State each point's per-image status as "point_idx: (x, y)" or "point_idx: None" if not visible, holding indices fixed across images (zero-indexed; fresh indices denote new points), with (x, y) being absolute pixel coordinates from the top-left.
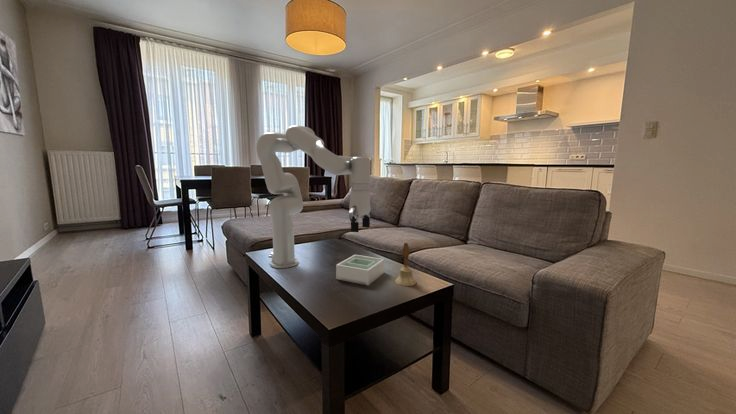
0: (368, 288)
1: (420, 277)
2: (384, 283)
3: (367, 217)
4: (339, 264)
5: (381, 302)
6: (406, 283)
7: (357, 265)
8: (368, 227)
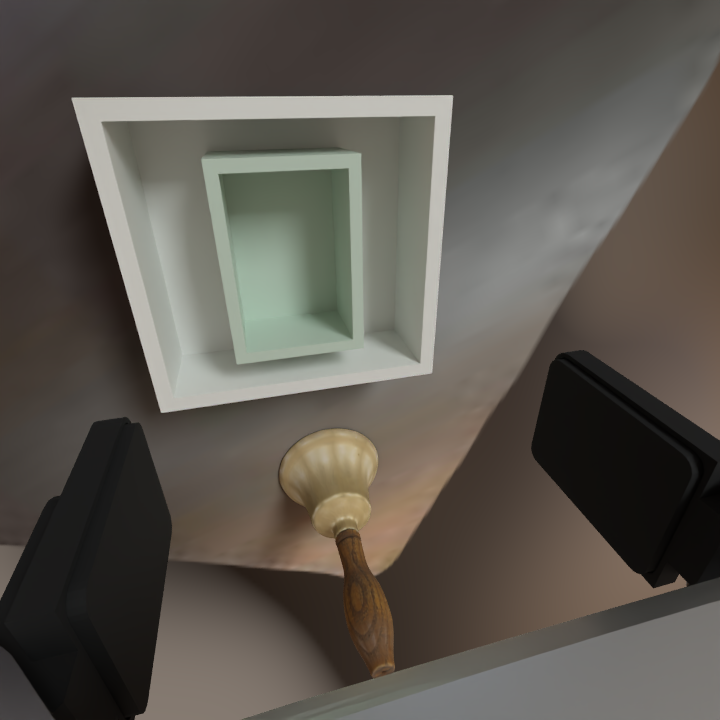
0: (139, 381)
1: (410, 485)
2: (255, 408)
3: (683, 577)
4: (116, 120)
5: None
6: (292, 496)
7: (222, 275)
8: (537, 446)
